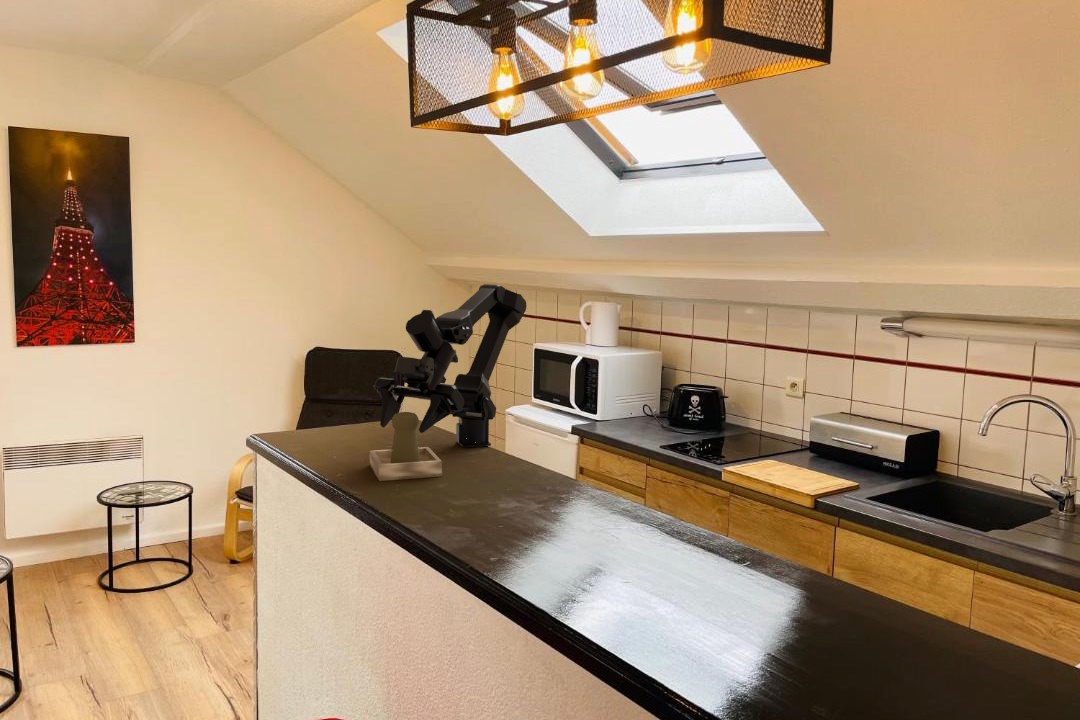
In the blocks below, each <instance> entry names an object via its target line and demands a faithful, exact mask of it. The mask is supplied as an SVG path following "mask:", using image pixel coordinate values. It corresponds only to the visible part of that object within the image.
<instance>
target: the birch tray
mask: <svg viewBox="0 0 1080 720" xmlns="http://www.w3.org/2000/svg"><path fill="white" fill-rule="evenodd" d="M418 450H419V457H420V462H407V463H393V464H390V463H391V455H392V449H379V450H378V449H377V450H375V449H374V450H369V466H370V468H371V469H372V471H373V473H374V474H375V475H374V476H376V478H377V479H378V481H379V482H384V481H397V480H409V479H412V480H413V479H423V478H435V477H436V478H437V477H442V476H443V461H442V459H440V457H439V456H438V455H436V453H435V452H434V451H433V450H432V449H431V448H430V447H429V446H423V447H418Z"/></svg>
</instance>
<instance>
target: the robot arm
mask: <svg viewBox="0 0 1080 720" xmlns="http://www.w3.org/2000/svg"><path fill="white" fill-rule="evenodd" d="M526 311H527V301H526V299H525V298H524V296H523V295H522V294H521V293H517V292H514V291H512V290H510V289H507V288H505V287H504V286H503V285H499V284H490V283H489V284H488V283H484V284H481V285H480V286H479V288H478V290H477V291H476V292H475V293H474V294H472V296H470V298H468V299H467V300H466V301H465V302H464V303H463V304H462V305H460V306H459V307H458V308H457V309H454V310H453V311H452V310H451V311H448V312H444V313H442V314H441V315H438V316H437V317H435V314H434V313H433V310H432V309H422V311H421V312H420V313H419V314H415V315H414V316H412V317H411V318H410V319H408V320H407V322H406V323H405V331H406V332H407V335H409V337H410V339H411V341H412V342H413V343H414V344H415V347H416V348H417V349H418V351H420V352H422V353H423V355H422V357H421V358H416V357H410V356H409V357H408V356H398V358H397V361H396V365H395V368H394V373H396V374H399V375H400V376H403V378H402V380H403V382H404V383H405V384H407V386H402V385H400V383H399V382H398V381H397V379H396V378H388V377H378V378H377V380H376V381H375V383H374V385H373V389H374V390H375V391H376V393H377V394H378V395H379V396H380V398H381V400H382V401H381V402H382V404H381V405H382V406H381V407H382V408H381V414H380V415H381V416H380V424H379V425H380V427H381V428H385V427H386V426H387V425H388V424H389V423H390V422H391V421H392V418H393V416H394V415H395V414H396V413H398V412H399V410H400V408H401V407H402V406H401V405H400V404H401V403H403V402H404V401H405V397H406V398H412V399H419V400H426V401H429V402H430V403H429V406H428V408H427V410H426V412H425V415H424V416H423V419H422V421H421V422H420V424H419V427H418V428H419V429H418V431H419V433H420V434H424V433H425V432H426V431H428V430H429V429H431V428H432V427H433V426H435V424H438V423H439V422H440V421H441V420H442V421H443V420H444V419H445V418H446V417H448V416H450V415H452V417H453V418H458V422H457V423H456V424H455V425H456V427H455V432H456V433H455V441H456V443H458V445H460V446H461V447H462V448H476V447H491V446H492V443H491V442H490V441H489V439H490V437H489V435H490V433H489V432H490V431H489V430H490V421H491V420H494V418H495V417H496V413H497V407H496V405H495V404H494V401H493V400H492V398H491V396H492V391H491V387H490V379H491V376H492V374H493V371H494V368H495V366H496V363H497V361H498V358H499V356H500V353H501V351H502V349H503V347H504V343H505V341H506V339H507V336H508V333H509V331H510V330H512V329H513V328H514V327H515V326H517V325H518V324H519V323H520V322H521V320H522V318H523V317H524V315H525V313H526ZM486 314H487V316H488V320H489V322H488V325H487V327H486V329H485V332H484V333H483V334H484V335H483V336H482V339H481V340H480V344H479V346H478V348H477V351H476V353H475V356H474V358H473V361H472V363H471V365H470V367H469V371H468V372H467V373H465V374H463V373H459V374H457V375H456V377H455V380H454V383H453V384H446V381H447V378H446V376H445V374H446V373H447V370H448V368H449V366H450V365H451V363H453V364H454V363H456V364H457V363H458V362H459V357H458V354H457V350H456V349H454V348H453V346H452V345H456V346H457V345H459V346H464V345H465V344H467V342H468V341H469V339H470V338H471V337H472V335H473V334H474V328H473V327H474V326H475V324H477V322H479V321H480V320H481V319H482V318H483V317H484V316H485V315H486ZM466 438H467V439H466ZM475 442H476V443H475Z"/></svg>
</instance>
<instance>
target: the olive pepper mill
mask: <svg viewBox="0 0 1080 720" xmlns="http://www.w3.org/2000/svg"><path fill="white" fill-rule="evenodd" d="M419 422H420V419H419V417H418V415H417V414H416V413H415V412H410V411H400V412H396V414H395V415H394V416H393V418H392V419H391V424H392V425H391V426H392V428H393V429H394V434H393V440H392V441H393V442H392V455H391V463H390V464H393V463H407V462H420V457H419V450H418V448H419V443H418V436H417V428H419V427H418V426H419V425H420V424H419Z"/></svg>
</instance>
